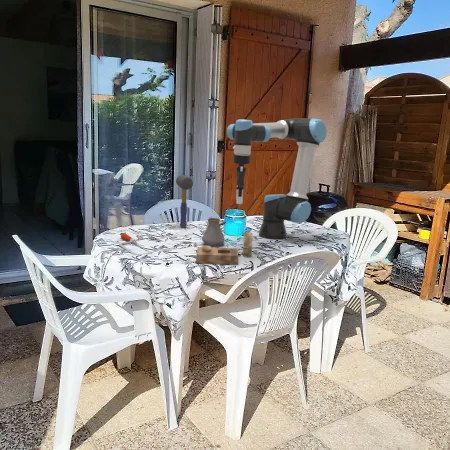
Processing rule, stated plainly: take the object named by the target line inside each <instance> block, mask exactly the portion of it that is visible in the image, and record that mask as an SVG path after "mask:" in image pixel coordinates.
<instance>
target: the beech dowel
mask: <svg viewBox="0 0 450 450" xmlns="http://www.w3.org/2000/svg"><path fill="white" fill-rule="evenodd" d="M242 243H243V245H242V257H244V258H251V257H252V252H253V251H252V250H253V232H250V231H245V232H243V242H242Z"/></svg>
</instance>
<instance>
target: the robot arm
mask: <svg viewBox="0 0 450 450" xmlns="http://www.w3.org/2000/svg"><path fill="white" fill-rule="evenodd" d="M325 124H326V123H325V122H324V120H322V119H319V118H313V117H312V118H308V117H307V118H305V117H303V118H302V117H295V118H287V119H283V120H282V119H280V120H278V121H276V122H258V123H256V122H255V123H254V122H253V120H250V119H237V120H236V121H235V123H231V124H229V125H228V126H227V129H226V135H227V137H228V139H230V140H233V141H234V146H233V147H232V149H233V154H234V155H233V160H232V161H233V164H237V167H236V177H237V179H236V187H235V189H236V194H235V200H236V202H235V203H236V205H243V201H244V200H243V199H244V187H245V181H244V180H245V176H246V170H247V168H246V167H245V165H250V164H251V156H250V155H251V154H252V153H251V151H252V143H253V142H255V143H264V142H265V143H267V142H269V140H270V138H271V139H272V138H278V139H280V140H283V139H285V140H290V141H291V140H292V141H296V144H297V146H298V149H297V150H298V151H297V156H296V160H295V164H294V169H293V173H292V181H291V184H290V189H289V190H290V191H289V192H288V193H287V194H283V193H280V194H279V193H277V194H275V193H274V194H266V195H265V196H264V201H263V212H262V213H263V214H262V223H261V225H260V227H259V230H258V236H259V237H261V238H264V239H268V238H269V239H270V240H281V239H282V240H283V239H285V238H287V230H286V229H287V228H286V227H285V226H286V225H285V221H287V222H292V223H295V224H296V223H297V224H302V223H304V222H306V221H307V220H308V218H309V217H310V215H311V212H312V207H311V206H312V205H311V203H310V202H309V197H308V196H307V194H308V188H309V182H310V177H311V173H312V167H313V164H314V158H315V152H316V149H318V148H320V143H323V142H324V141H325V140H326V137H327V127H326V125H325Z"/></svg>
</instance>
